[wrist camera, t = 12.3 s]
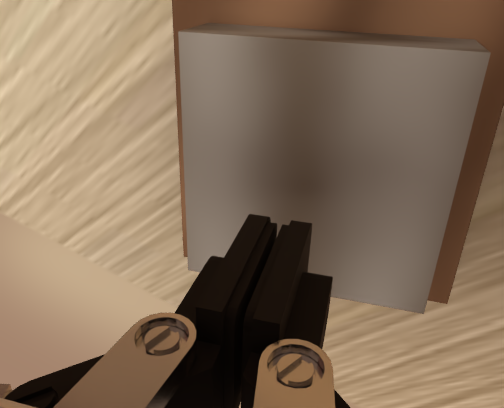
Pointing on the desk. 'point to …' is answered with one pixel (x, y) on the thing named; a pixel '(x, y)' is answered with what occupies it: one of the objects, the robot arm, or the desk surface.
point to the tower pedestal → (340, 132)
